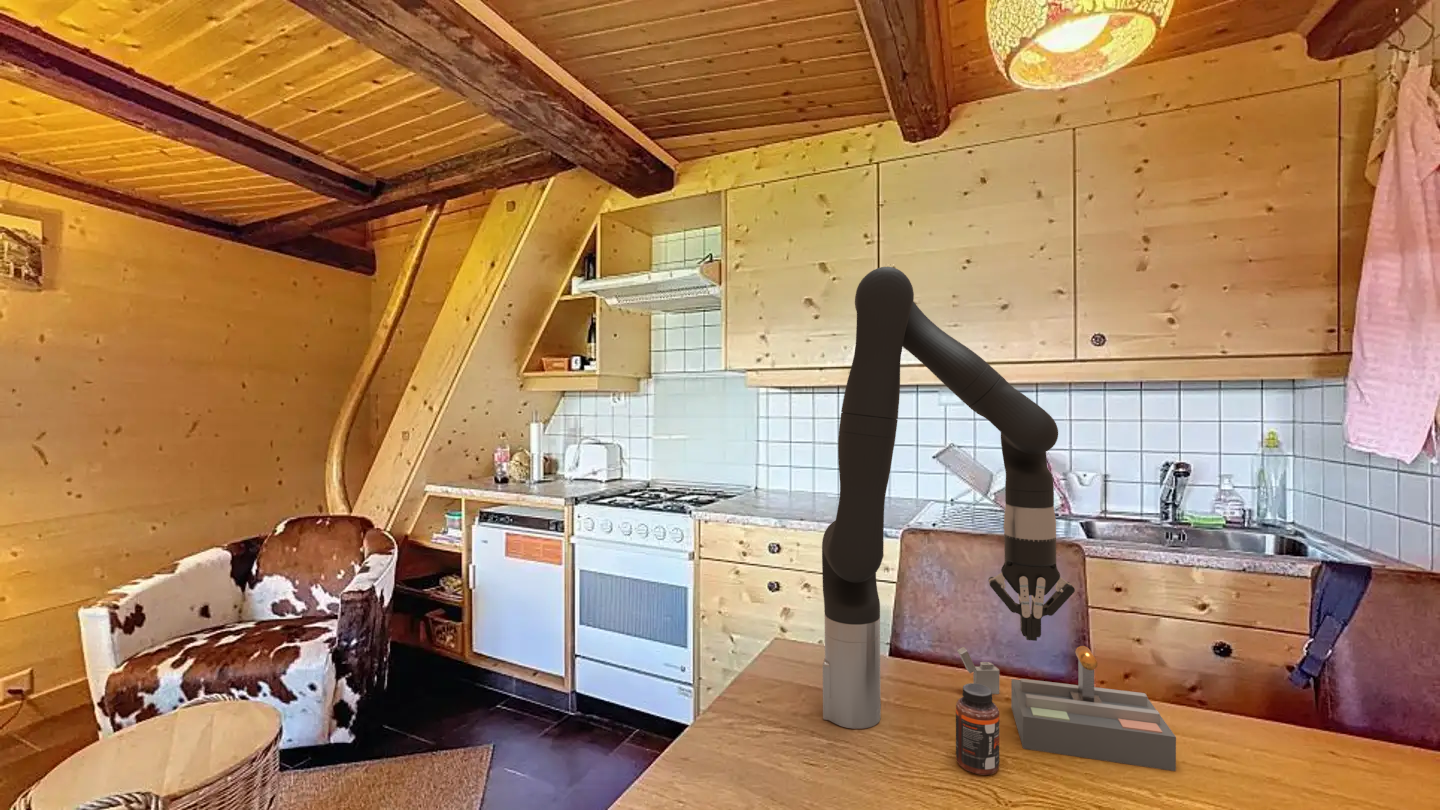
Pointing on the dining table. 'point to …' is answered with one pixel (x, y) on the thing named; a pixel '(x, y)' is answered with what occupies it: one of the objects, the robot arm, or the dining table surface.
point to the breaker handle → (1085, 677)
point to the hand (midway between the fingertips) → (1031, 638)
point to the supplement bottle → (977, 730)
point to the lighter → (981, 672)
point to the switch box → (1092, 724)
